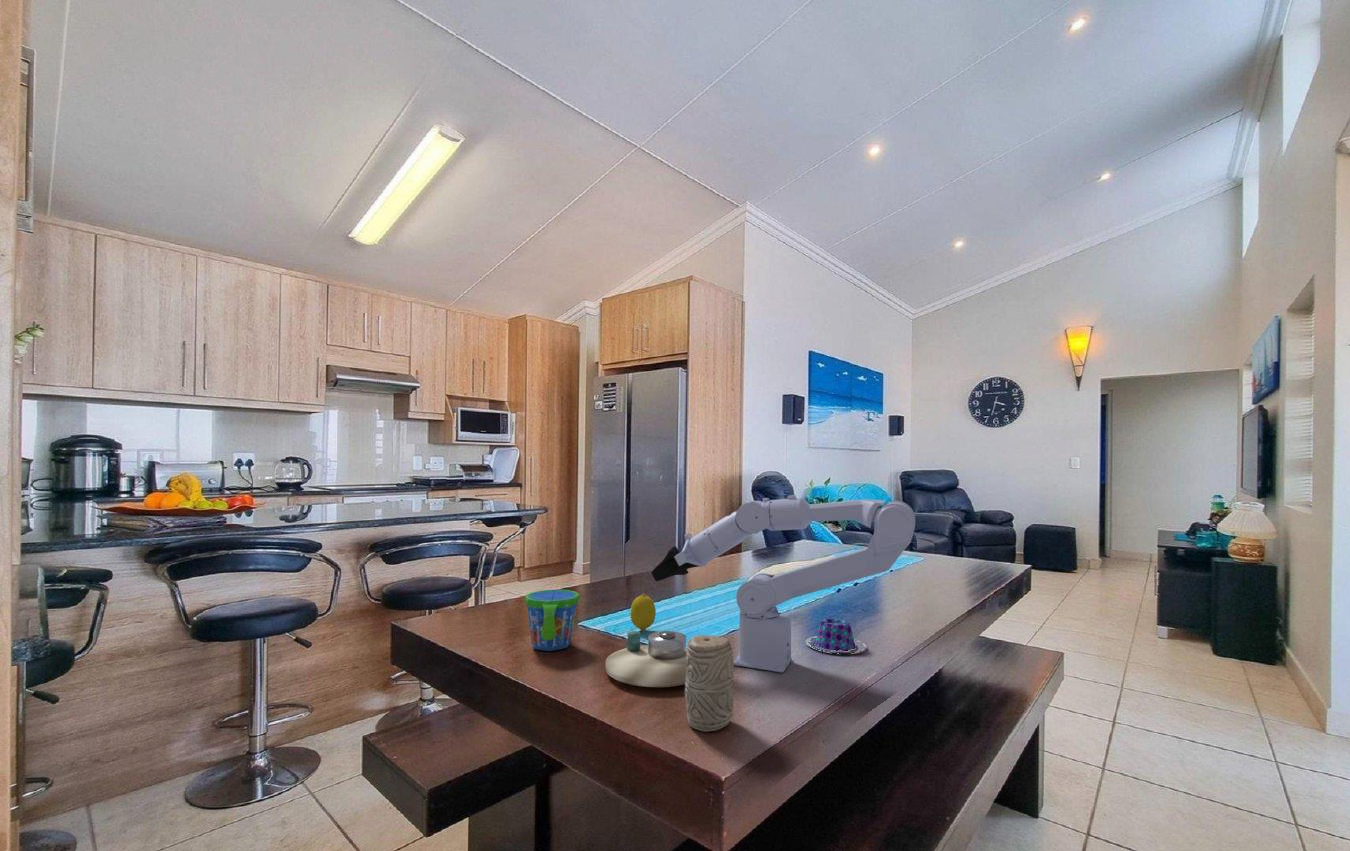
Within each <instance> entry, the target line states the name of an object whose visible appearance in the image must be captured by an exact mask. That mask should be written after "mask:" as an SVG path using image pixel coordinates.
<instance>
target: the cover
mask: <svg viewBox="0 0 1350 851" xmlns="http://www.w3.org/2000/svg"><path fill="white" fill-rule="evenodd" d="M647 639H648V640H647V642H648V643H647V645H648V655H649V656H650V657H652V658H655V659H660V660H675V659H680V658H683V657H684V656H685V655H686V648H687V635H686V634H685V633H682V632H679V631H672V630H661V631H655V632H652V633H649V635H648V638H647Z"/></svg>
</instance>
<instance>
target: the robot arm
mask: <svg viewBox="0 0 1350 851" xmlns="http://www.w3.org/2000/svg"><path fill="white" fill-rule="evenodd" d="M885 502H886V500H885V499H884V500H883V499H865V498H864V499H855V500H854V499H853V500H841V501H831V502H823V503H822V502H820V503H813V504H812V503H811V504H810V503H809V502H807V501H806V499H804V498H803V497H797V495H796V494H791V495H787V498H781V499H770V497H764V498H762V501H761V500H753V501H751V500H750V501H749V502H745V503H743V504H741V505H740V506H739V507H738V508H737V510H735V511H733V512H731V514H730V515H726V516H724V517H723V518H720V520H718V521H716V522H715V523H713V524H711V525H710V526H707V528H705V529H704V530H702V531H701V532H699V533H697V534H695V535H694V536H692V534H691V533H690V532H688V533H685V534H684V538H685V543H684V545H683V547H682V550H681V552H680V551H679V549H678V548H677V546H676V545H674V546H672V547H670V548H669V550H668V552H667V554H666V556H665V557H664V558H663V559H662V560H661V562H660V563H659V564H658V565H656V566H655V567H654V568H653V570H651V571H650V573H651V575H652V577H653V578H654V581H655V582H659V581H663V580H666V579H668V578H671V577H674V576H685V575H687V574H689V571H688V569H692V568H698V567H700V568H702V567H705V566H706V565H707V564H708V563H709V562H711V561H713V560H714V559H716V558H718V557H719V556H721V555H722V554H725V553H726V552H727V551H729V550H731V549H732V548H735V547H736V546H737V545H739V544H741V543H742V542H744V540H745V539H746V538H748V537H750V536H751V535H753V534H755V535H756V534H758V533H760V532H762V531H764V530H766V529H767V530H769V531H772V532H773V531H774V532H775V531H788V530H789V531H791V530H792V531H793V530H805V529H807V527H808V526H809V525H810V523H811V522H830V521H831V522H835V521H836V522H837V521H839V522H841V521H855V522H856V521H857V522H858V523H860V524H862V525H863V526H865V527H866V528H869V529H871V528H872V526H873V525H874V527H873V529H874V530H873V535H872V537H871V539H870V541H869V544H868V546H867V547H864V548H861V549H858V550H854V551H851V552H848V553H844V554H841V555H838V556H835V557H832V558H828V559H825V560H821V561H819V562H815V563H813V564H809V565H804V566H801V567H798V568H795V569H793V570H789V571H784V572H779V573H772V574H770V573H765V572H761V573H757V574H755V575H754V576H752V578H751V579H750V580H748V581H746V582H744V583H742V584H741V585H740V586H739V587H738V589H737V591H736V595H735V596H736V597H735V598H736V603H737V606H738V608H739V643H738V644H739V646H738V648H739V649H738V650H739V651H738V652H739V653H738V656H736V657H735V658H734V659H733V662H734V666H740V667H745V668H746V667H747V668H752V669H757V670H765V671H771V672H777V673H784V672H786V671H785V670H786V669H787V667H788V666H789V664H790V662H791V661H792V659H793V657H792V622H791V618H789V617H787V616H785V615H784V616H783V615H781V614H779V610H778V607H777V606H779V605H782V604H783V603H786V602H787V601H790V600H791V599H794V598H798V597H801V596H804V595H808V594H812V593H815V592H818V591H822V590H826V589H829V588H833V587H836V586H839V585H843V584H847V583H850V582H853V581H858V580H860V579H861V580H862V579H864V578H867V577H871V576H874V575H877V574H878V575H879V574H881V573H886V572H887V571H889V570H890V569H891V568H892V567H893V565H894V564H895V562H896V561H897V560H899V558H900V556H901V555H902V554H903V553H904V552H905V550H906V548H907V547H908V546H909V545H911V542H912V539H913V535H914V532H915V527H916V514H915V512H914V510H913V509H912V506H910V505H909V504H908V503H906V502H904V501H902V500H890V501H888V502H886V503H885Z"/></svg>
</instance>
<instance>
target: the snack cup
mask: <svg viewBox="0 0 1350 851" xmlns="http://www.w3.org/2000/svg"><path fill="white" fill-rule="evenodd" d="M524 602H525V605H526V607H527V616H528V624H529V630H530V631H529V632H530V633H529V634H530V639H531V640H530V641H531V645H532V647H533V649H534V650H539V651H546V652H552V651H559V650H562V649H565V648H566V649H567V648H568V647H569V645H571V642H572V637H573V630H574V626H575V625H574V624H575V617H576V611H577V605H578V604H579V602H580V594H579V593H578V592H577V591H574V590H569V589H545V590H543V589H542V590H537V591H533V592H529V593H527V594H526V595H525V601H524Z"/></svg>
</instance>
